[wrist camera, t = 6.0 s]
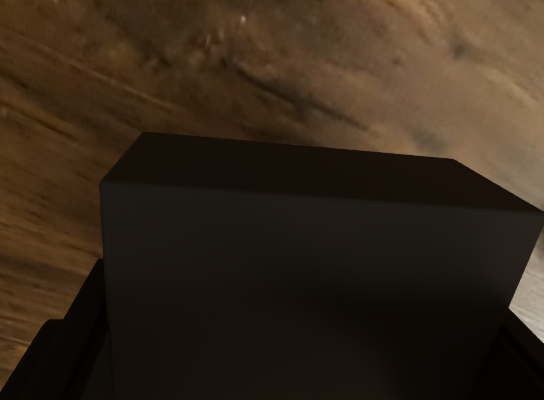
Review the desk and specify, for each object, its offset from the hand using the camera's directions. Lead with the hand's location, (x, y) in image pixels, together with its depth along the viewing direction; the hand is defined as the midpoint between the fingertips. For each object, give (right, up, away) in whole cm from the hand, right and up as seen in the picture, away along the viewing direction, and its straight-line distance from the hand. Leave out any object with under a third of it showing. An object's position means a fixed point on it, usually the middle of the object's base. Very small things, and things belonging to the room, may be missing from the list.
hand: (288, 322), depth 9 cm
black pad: (0, -1, +2) cm, 2 cm away
